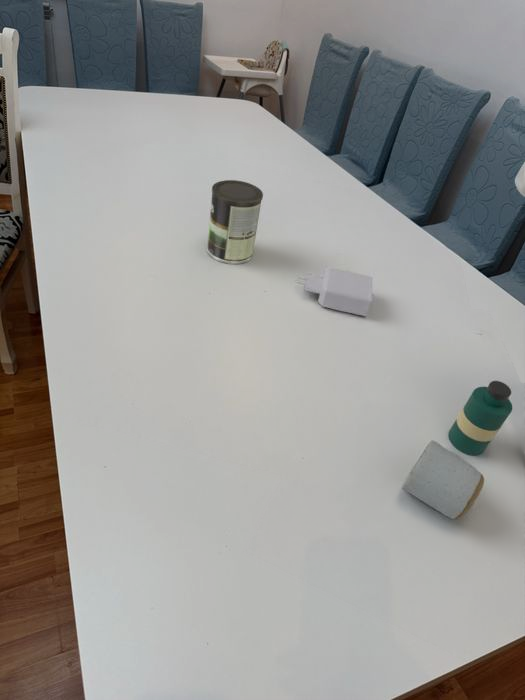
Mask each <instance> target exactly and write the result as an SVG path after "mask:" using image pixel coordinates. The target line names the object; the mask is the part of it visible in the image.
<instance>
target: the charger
mask: <svg viewBox="0 0 525 700" xmlns="http://www.w3.org/2000/svg"><path fill="white" fill-rule="evenodd" d="M296 279H298V280H295V282H294V283H295V284H296V283H297V284H300V285H304V289H303V290H304V291H305V292H308V293H309V292H310V293H314V294H318V300H317V303H318V304H319V305H320V306H321V307H322V308H327V309H331V310H336V311H340V312H344V313H349V314H353V315H356V316H357V315H358V316H362V317H367V314H368V312H369V309H370V307H371V303H372V299H373V276H370V275H367V274H361V273H356V272H353V271H348V270H343V269H340V268H335V267H327V268H325V269H324V272H323V275H322V276H319V275H315V274H312V273H311V274H310V273H307V275H306V277H303V276H300V275H299V276H298V275H297V276H296ZM301 280H303V281H301ZM304 281H305V282H304Z"/></svg>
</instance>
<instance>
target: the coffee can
mask: <svg viewBox="0 0 525 700" xmlns="http://www.w3.org/2000/svg"><path fill="white" fill-rule="evenodd" d="M263 198H264V192H263V191H262V190H261V188H259V187H257V186H256V185H254V184H252V183H250V182H246V181H242V180H236V179H225V180H219V181H217V182H215V183H214V184H213V185H212V187H211V203H210V215H209V223H208V224H209V225H208V236H207V246H206V251H207V254H208V255H209V257H211V258H212V259H214V260H215V261H217V262H220V263H222V264H228V265H240V264H246V263H248V262H249V261H250V260H252V259H253V257H254V249H255V244H256V236H257V230H258V224H259V219H260V212H261V205H262V200H263Z"/></svg>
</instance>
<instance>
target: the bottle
mask: <svg viewBox="0 0 525 700" xmlns="http://www.w3.org/2000/svg"><path fill="white" fill-rule="evenodd" d="M511 394H512V389H511V388H510V386H509V385H507V384H506V383H504V382H503V381H499V380H492V381H489V384H488V385H487V386H478V387H476V388H474V390H472V393H471V394H470V396H469V397H468V399H467V400H466V403H465V404H464V405H463V407H462V408H461V410H460V411H459V413H458V415H457V418H455V421H454V422H453V424H452V426H451V427H450V429H449V431H448V434H447V435H448V440H449V442H450V443H451V445H452V446H453V447H454V448H455V449H456V450H458V451H459V452H461V453H463V454H465V455H469V456H480V455H481V454H483V453H484V452H485V450H486V449H487V447H488V446H489V445H490V443H491V442H492V440H493V439H494V438H495V437H496V435H497V434H498V432H499V431H500V430H501V428H502V427H503V425H504V423H505V422H506V421H507V419H508V418H509V416H510V415H511V413H512V412H513V403H512V402H511V400H510V399H509V398H510V396H511Z"/></svg>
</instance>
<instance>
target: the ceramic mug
mask: <svg viewBox="0 0 525 700" xmlns="http://www.w3.org/2000/svg"><path fill="white" fill-rule="evenodd" d="M484 483H485V477H484V475H483V474H482V473H481V472H480V471H479V470H478V469H477V468H475V467H474V466H473V465H472V464H470V463H468V462H467V461H465V460H464V459H462V458H461V457H459V456H458V455H456V454H454V453H453V452H451V451H450V450H448V448H446V447H444V446H443V445H441V444H440V443H438V442H437V441H435V440H430V441H429V443H427V445H426V447H425V449H423V452H422V453H421V454H420V456H419V458H418V460H417V461H416V462H415V464H414V465H413V467H412V469H411V470H410V472H409V474H408V475H407V477H406V478H405V481H404V482H403V484H402V486H401V487H402V489H403V490H404V491H405V492H407V493H409V494H410V495H412V496H413V497H415V498H417V499H419V500H420V501H421V502H423V503H425V504H426V505H428V506H430V507H431V508H433V509H435V510H436V511H437V512H439V513H440V514H441V515H444V516H446V517H448V518H450V519H452V520H461V519H462V518H464V517H465V516H466V515H467V514H468V512H469V511H470V510H471V508H472V507H473V505H474V504H475V502H476V500H477V499H478V497H479V495H480V493H481V491H482V489H483V487H484Z"/></svg>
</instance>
